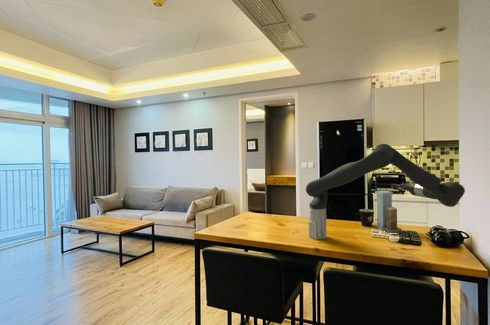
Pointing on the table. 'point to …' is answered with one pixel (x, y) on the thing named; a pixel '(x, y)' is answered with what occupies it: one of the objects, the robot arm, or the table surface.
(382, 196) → the post
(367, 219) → the coffee mug
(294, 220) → the table surface
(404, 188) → the robot arm
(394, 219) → the rail block
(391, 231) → the bracket
